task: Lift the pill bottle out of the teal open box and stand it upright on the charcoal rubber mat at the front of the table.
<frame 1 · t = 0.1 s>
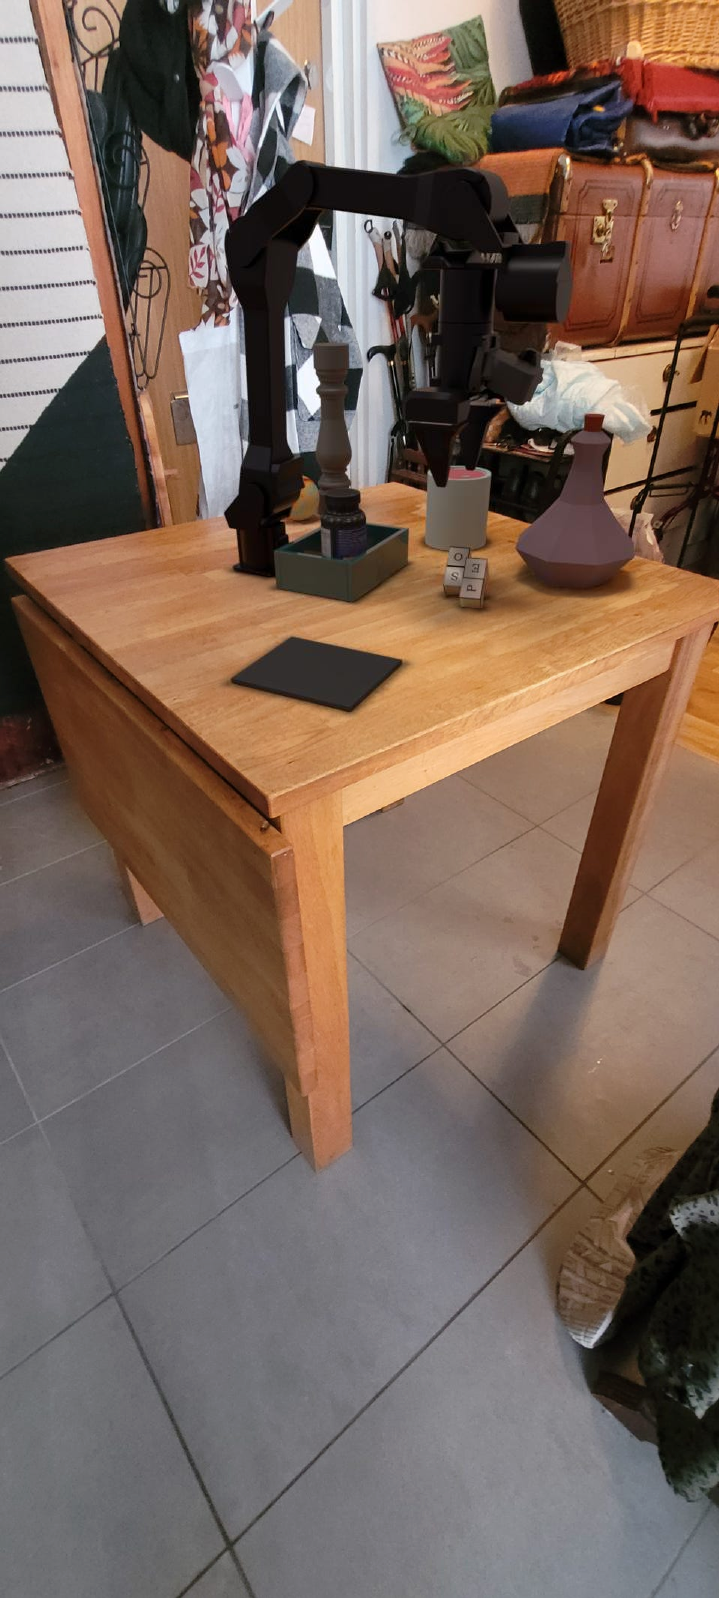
hand: (456, 478, 90), 15 cm above the table, tool pointing down, fingers open, 9 cm apart
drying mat: (318, 672, 81), on the table
candle holder: (335, 512, 133), on the table
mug: (453, 538, 120), on the table
pill bottle: (344, 576, 106), resting in teal open box
flask: (569, 578, 105), on the table
teal open box: (344, 575, 106), on the table
building blocks: (464, 600, 98), on the table
ball: (299, 520, 129), on the table
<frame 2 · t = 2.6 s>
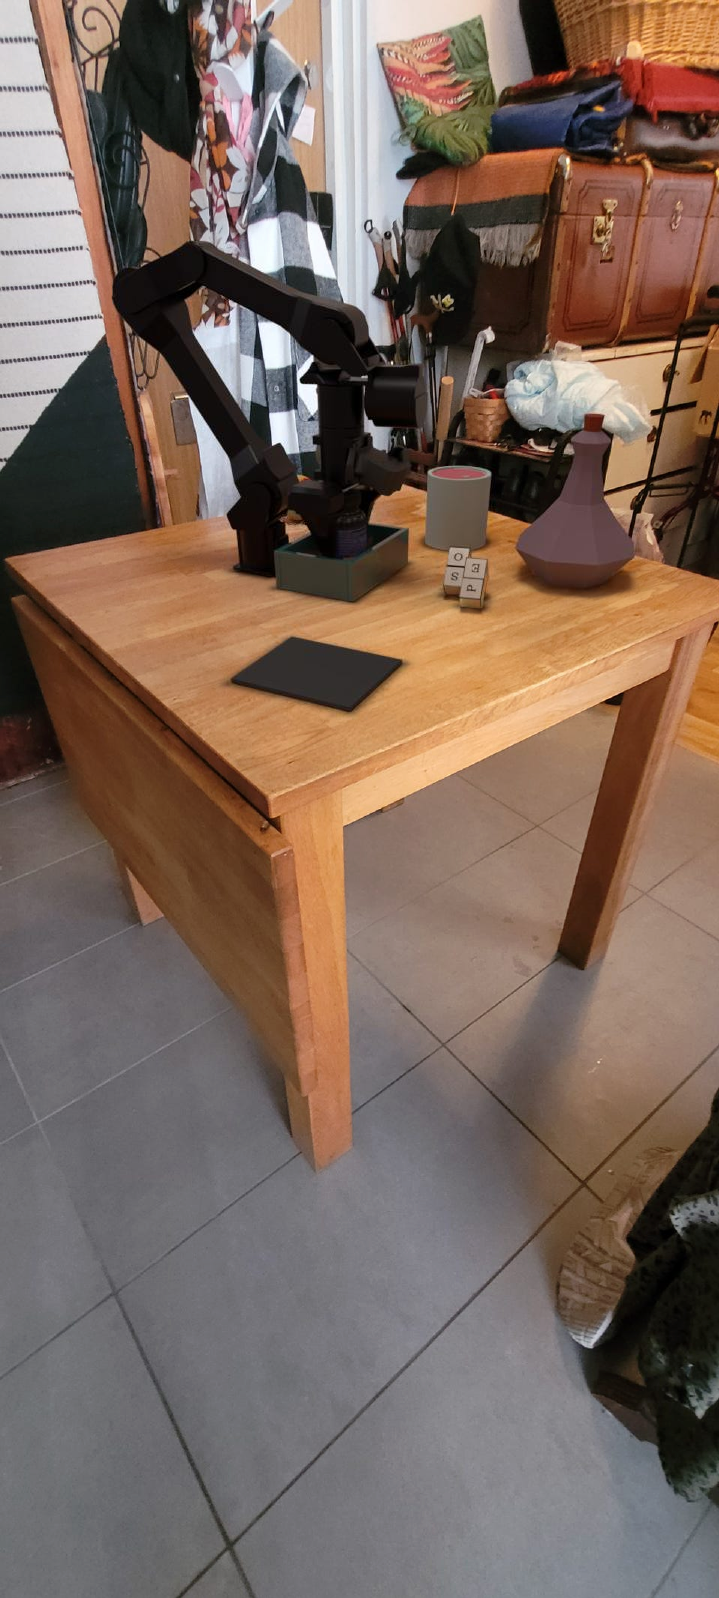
hand: (344, 551, 104), 3 cm above the table, tool pointing down
pill bottle: (344, 577, 106), resting in teal open box, touching gripper
everything else where it was.
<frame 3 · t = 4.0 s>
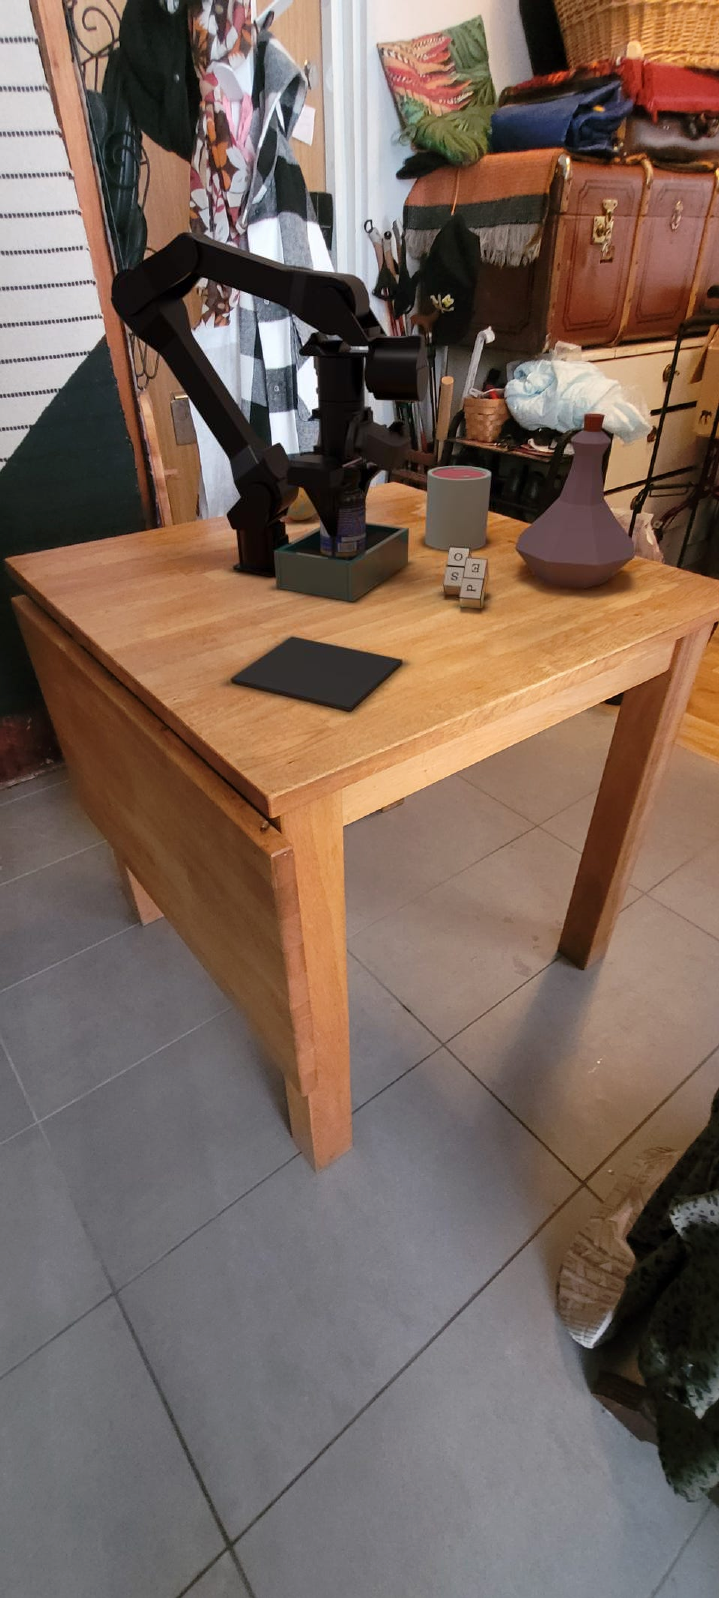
hand: (344, 529, 102), 6 cm above the table, tool pointing down, fingers closed on pill bottle, 6 cm apart
pill bottle: (342, 558, 105), point 2 cm above the table, touching gripper
everything else where it was.
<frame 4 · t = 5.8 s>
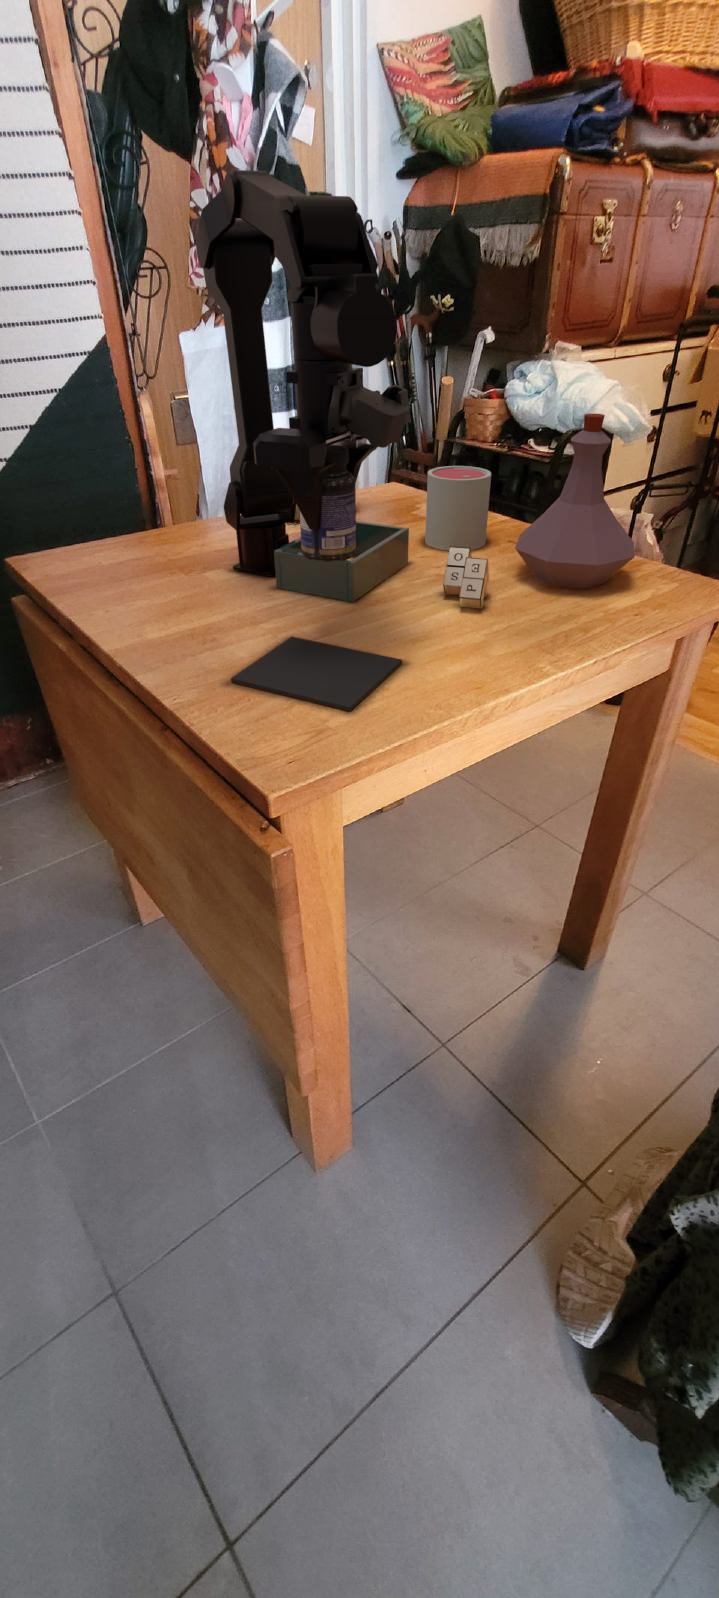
hand: (329, 522, 84), 12 cm above the table, tool pointing down, fingers closed on pill bottle, 6 cm apart
pill bottle: (328, 557, 86), point 8 cm above the table, touching gripper
everything else where it was.
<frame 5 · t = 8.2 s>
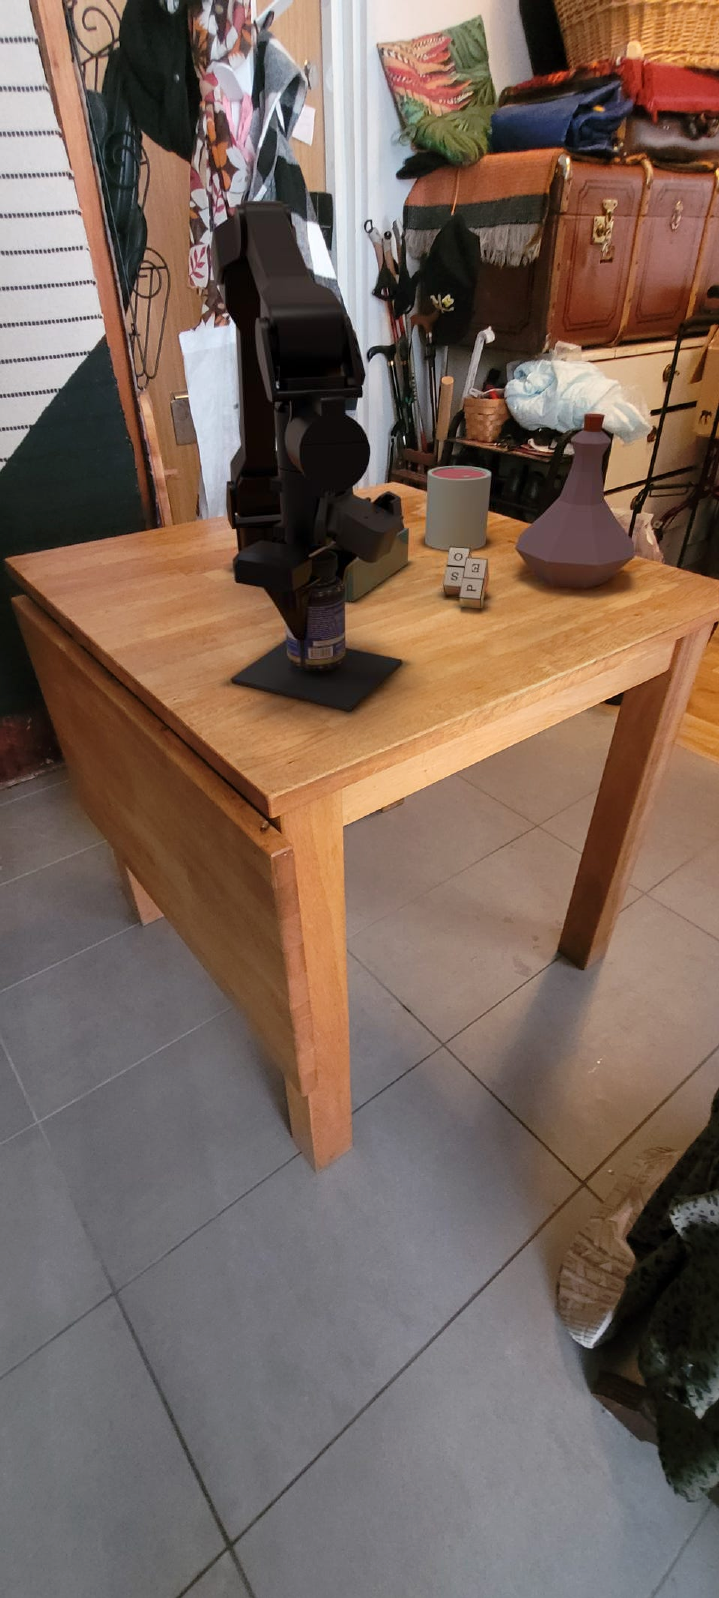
hand: (316, 627, 78), 5 cm above the table, tool pointing down, fingers closed on pill bottle, 6 cm apart
pill bottle: (316, 662, 81), point 1 cm above the table, touching gripper
everything else where it was.
when the fingers open (4 cm above the table, at t = 9.0 s): pill bottle stays where it is, resting on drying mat.
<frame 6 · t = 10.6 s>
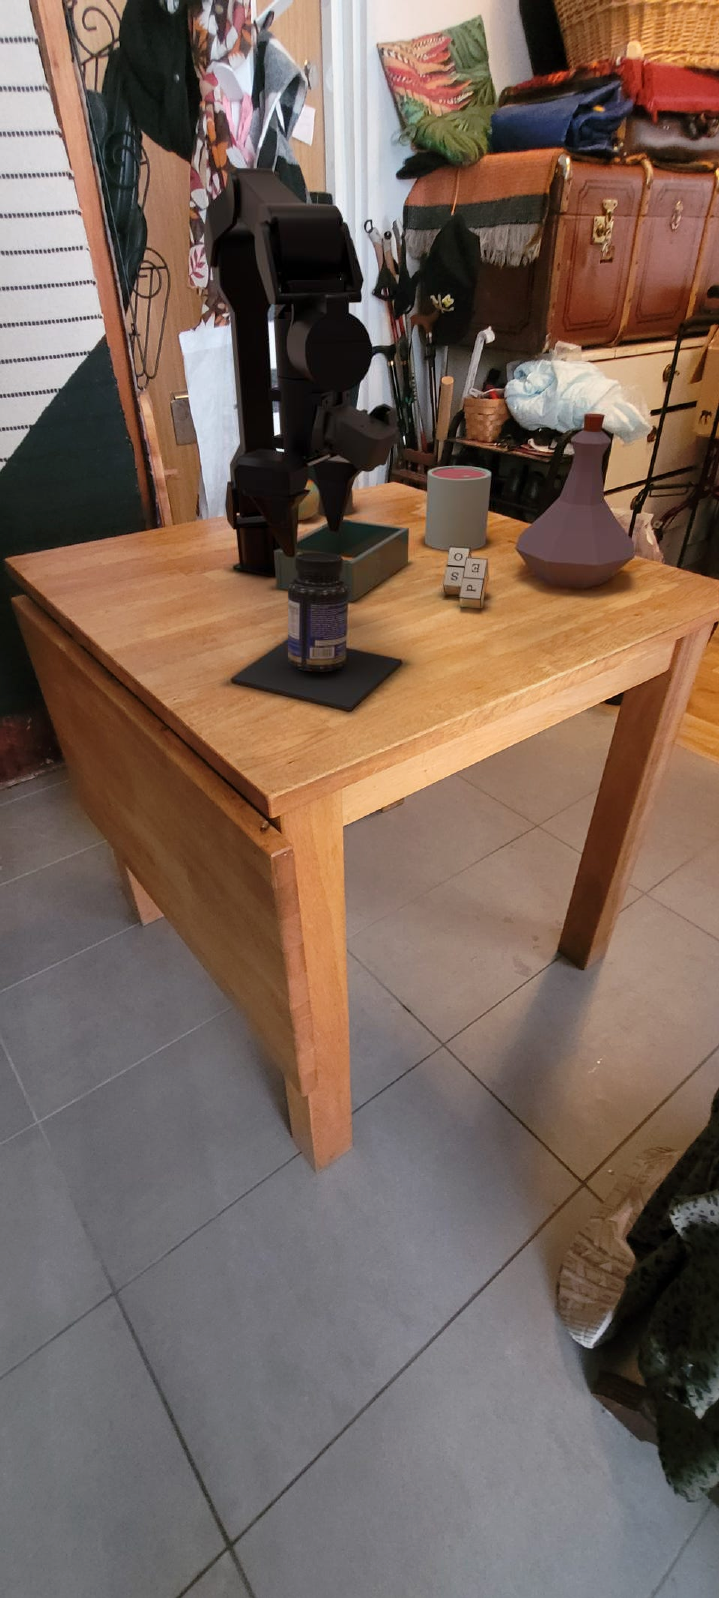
hand: (313, 543, 80), 11 cm above the table, tool pointing down, fingers open, 9 cm apart
pill bottle: (316, 666, 81), point 1 cm above the table, touching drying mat
everything else where it was.
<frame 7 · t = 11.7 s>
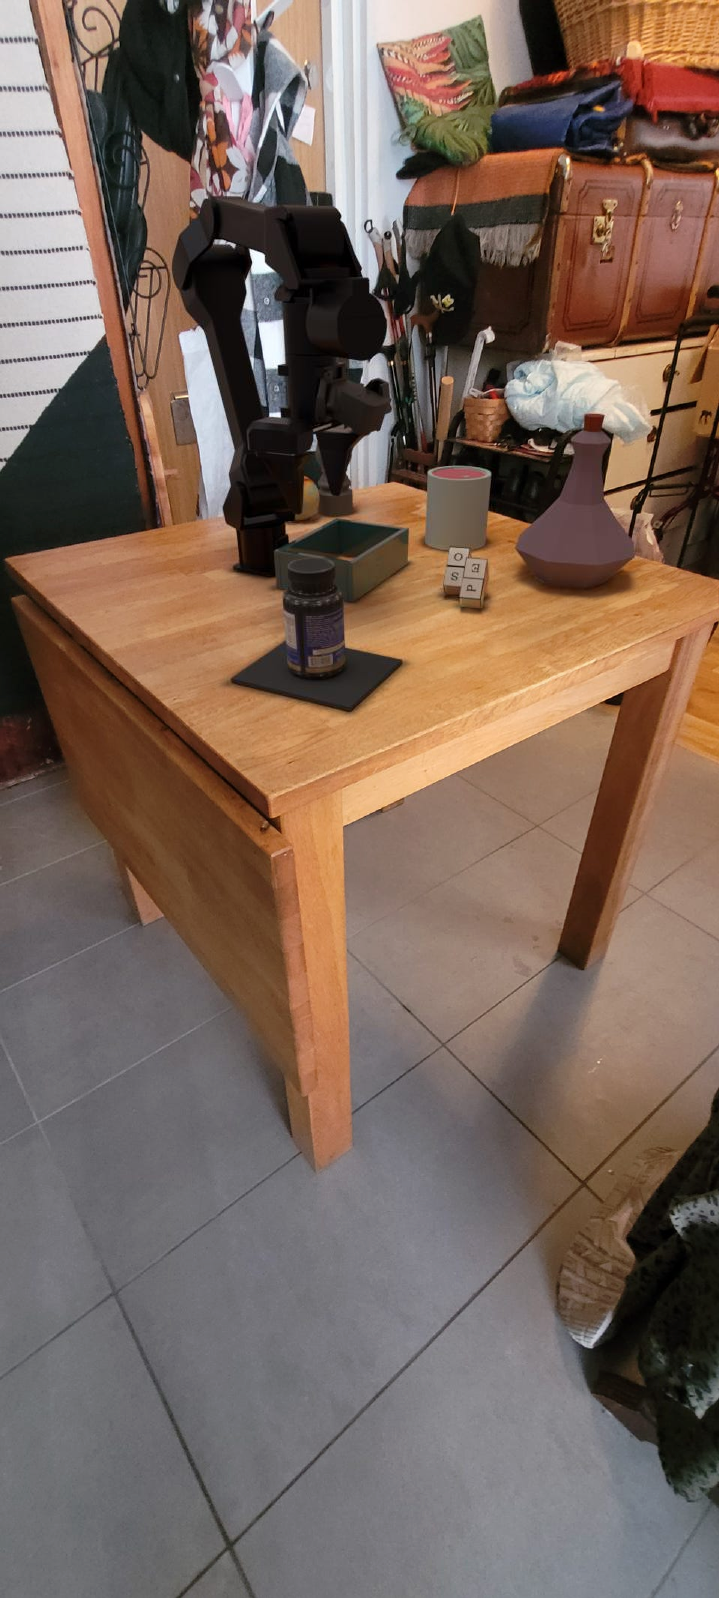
hand: (317, 504, 91), 12 cm above the table, tool pointing down, fingers open, 9 cm apart
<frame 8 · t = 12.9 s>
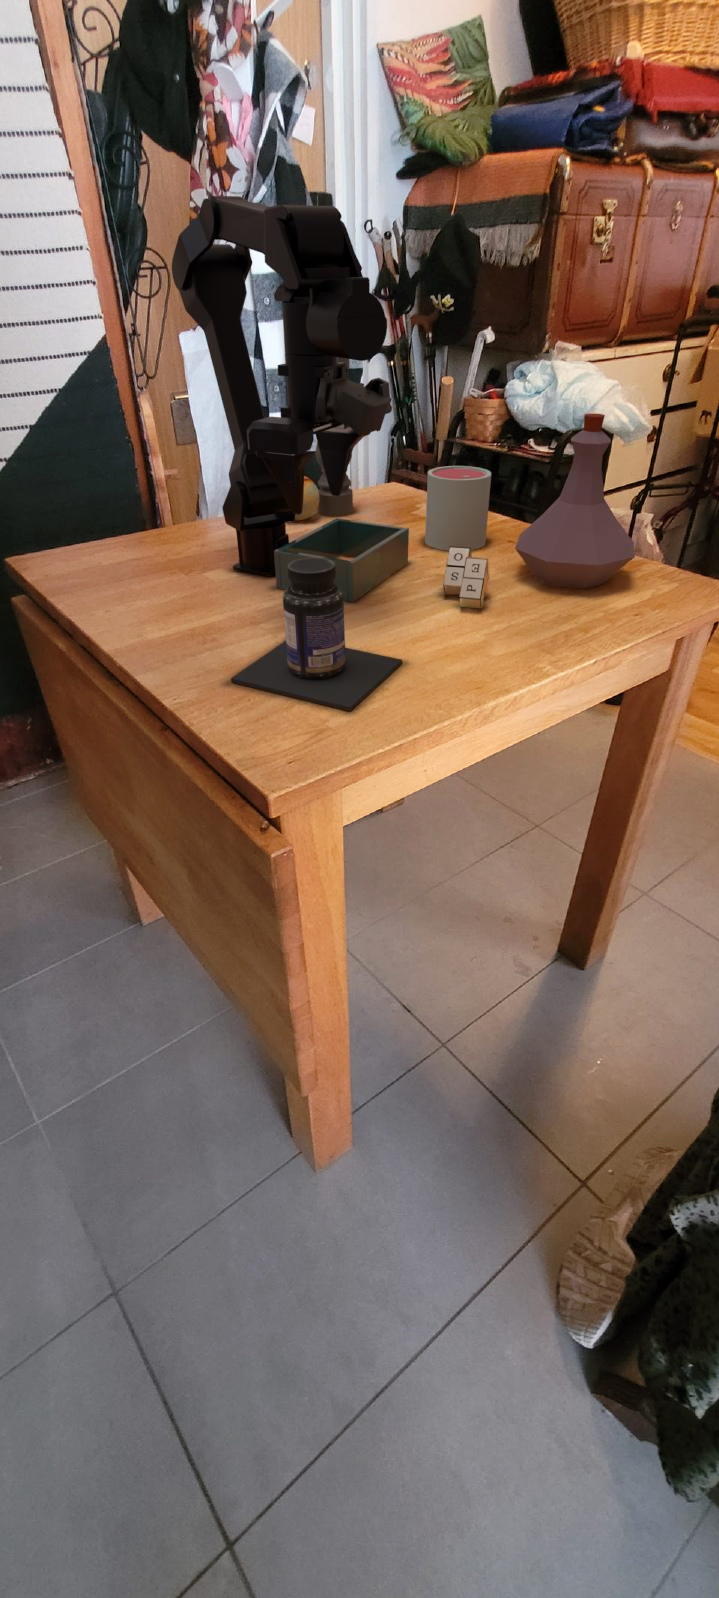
hand: (317, 504, 91), 12 cm above the table, tool pointing down, fingers open, 9 cm apart
nothing on the table moved.
at the end: pill bottle inside the target area on the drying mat (0.2 cm from its centre), point 0.3 cm above the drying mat's base; pill bottle tilted 0°; pill bottle touching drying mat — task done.
